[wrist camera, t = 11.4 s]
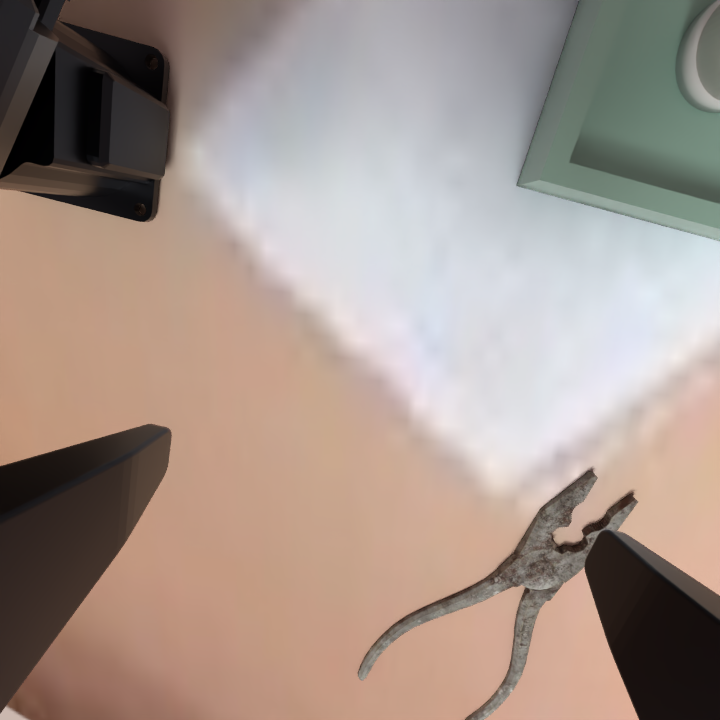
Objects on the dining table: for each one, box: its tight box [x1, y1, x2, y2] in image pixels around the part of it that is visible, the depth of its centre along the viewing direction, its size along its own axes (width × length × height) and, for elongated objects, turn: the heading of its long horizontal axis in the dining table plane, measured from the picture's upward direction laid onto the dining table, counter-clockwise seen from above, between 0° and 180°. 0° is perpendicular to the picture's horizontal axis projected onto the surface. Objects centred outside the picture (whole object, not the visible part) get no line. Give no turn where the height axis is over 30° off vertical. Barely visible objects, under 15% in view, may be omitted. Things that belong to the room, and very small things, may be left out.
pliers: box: [358, 471, 638, 720], centre depth 25 cm, size 10×1×20 cm
